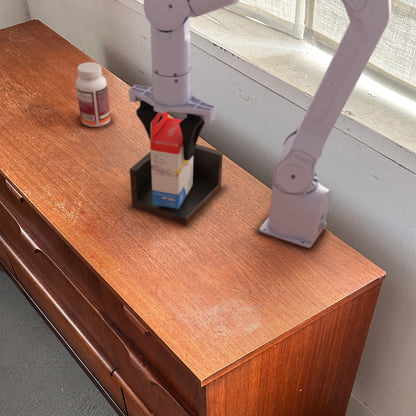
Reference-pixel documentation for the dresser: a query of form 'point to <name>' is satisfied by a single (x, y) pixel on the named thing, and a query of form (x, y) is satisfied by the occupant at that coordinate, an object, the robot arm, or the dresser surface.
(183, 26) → the robot arm
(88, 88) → the pill bottle
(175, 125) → the ink box
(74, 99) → the dresser surface
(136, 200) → the box
